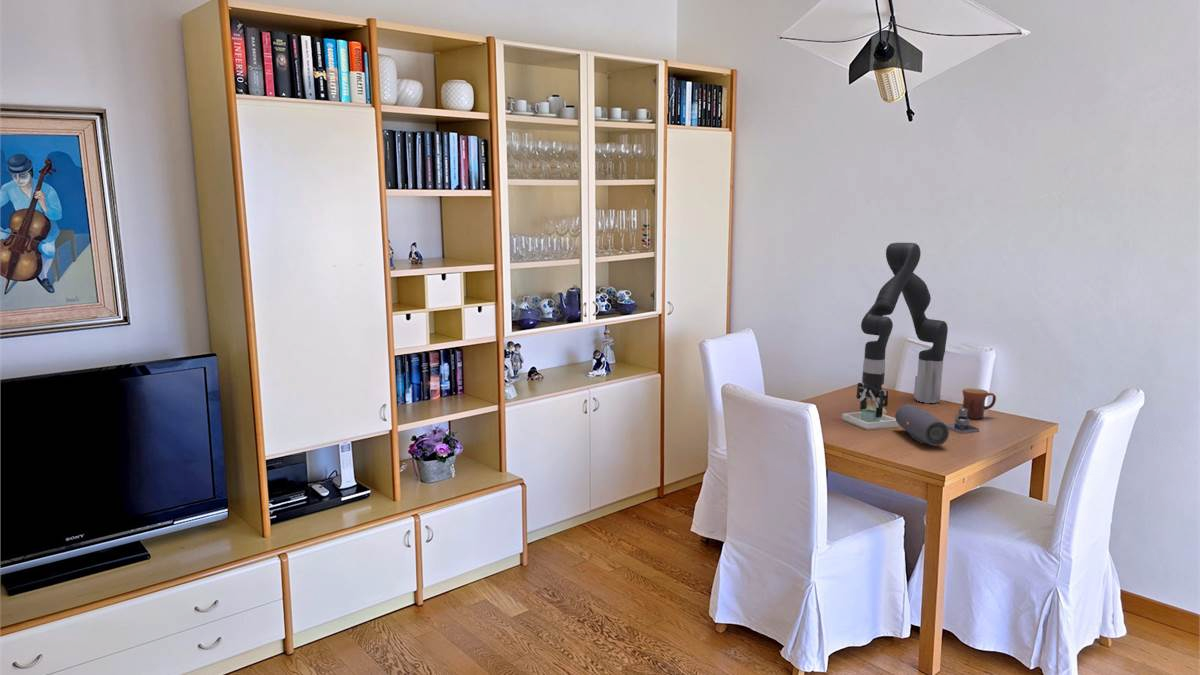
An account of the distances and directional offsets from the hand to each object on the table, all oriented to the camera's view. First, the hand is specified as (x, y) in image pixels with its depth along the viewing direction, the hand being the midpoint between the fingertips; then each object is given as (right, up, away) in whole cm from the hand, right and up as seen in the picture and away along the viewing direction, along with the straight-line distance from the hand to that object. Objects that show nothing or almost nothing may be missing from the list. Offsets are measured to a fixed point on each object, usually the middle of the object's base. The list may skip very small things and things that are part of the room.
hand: (870, 414), depth 301 cm
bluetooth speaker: (+11, -7, -19) cm, 23 cm away
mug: (+43, -2, +10) cm, 44 cm away
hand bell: (+8, -1, +17) cm, 19 cm away
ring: (0, -3, 0) cm, 3 cm away
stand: (+30, -5, -6) cm, 31 cm away
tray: (0, -3, +1) cm, 3 cm away
